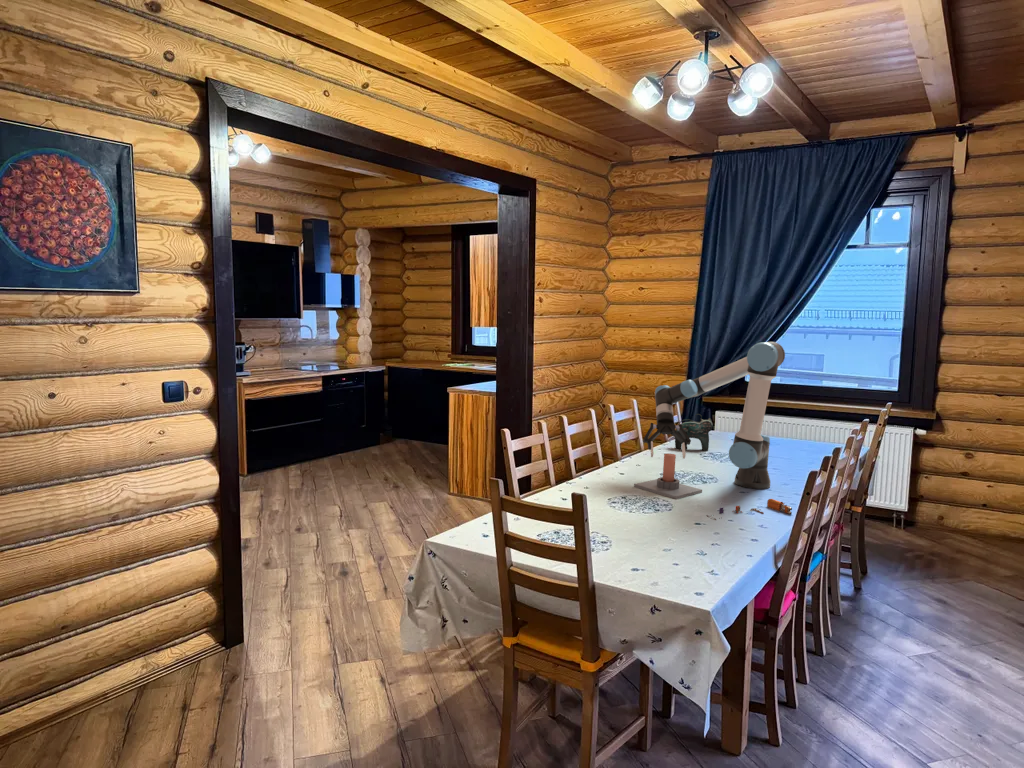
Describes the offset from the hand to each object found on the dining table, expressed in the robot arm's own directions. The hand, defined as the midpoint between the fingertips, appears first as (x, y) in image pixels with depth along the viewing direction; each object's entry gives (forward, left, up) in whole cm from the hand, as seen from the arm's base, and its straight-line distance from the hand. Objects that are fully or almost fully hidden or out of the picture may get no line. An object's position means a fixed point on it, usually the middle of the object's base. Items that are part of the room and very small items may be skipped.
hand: (668, 456), depth 290 cm
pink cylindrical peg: (-2, +2, -13) cm, 13 cm away
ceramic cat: (+42, -78, -14) cm, 90 cm away
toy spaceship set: (-42, +4, -15) cm, 45 cm away
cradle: (-2, +2, -14) cm, 14 cm away
